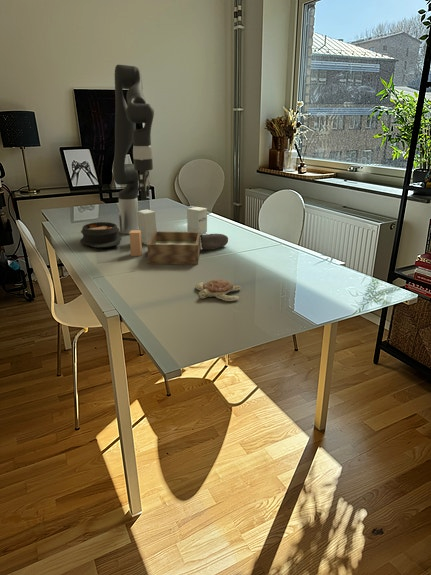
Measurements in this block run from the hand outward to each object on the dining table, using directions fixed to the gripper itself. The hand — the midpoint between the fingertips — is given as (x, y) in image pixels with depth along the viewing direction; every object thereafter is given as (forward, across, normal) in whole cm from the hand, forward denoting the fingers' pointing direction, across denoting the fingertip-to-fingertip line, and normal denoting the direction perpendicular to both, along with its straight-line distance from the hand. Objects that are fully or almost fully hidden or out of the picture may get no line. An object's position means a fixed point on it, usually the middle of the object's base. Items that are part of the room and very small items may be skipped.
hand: (145, 198), depth 175 cm
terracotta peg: (+23, +4, -5) cm, 24 cm away
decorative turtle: (+24, +45, +29) cm, 59 cm away
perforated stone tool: (+24, -6, +29) cm, 38 cm away
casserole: (+23, -12, -23) cm, 35 cm away
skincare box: (+23, -14, -2) cm, 28 cm away
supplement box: (+23, -32, +20) cm, 44 cm away
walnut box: (+23, +6, +12) cm, 27 cm away
